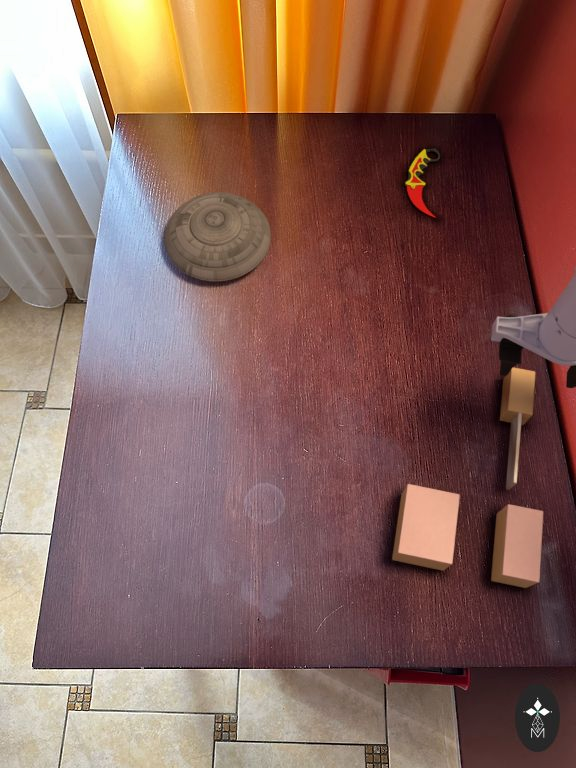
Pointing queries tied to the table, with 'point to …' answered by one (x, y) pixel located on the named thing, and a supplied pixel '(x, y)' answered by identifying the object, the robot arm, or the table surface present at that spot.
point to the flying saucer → (217, 236)
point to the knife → (415, 183)
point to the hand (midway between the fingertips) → (536, 374)
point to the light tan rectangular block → (517, 546)
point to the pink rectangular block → (426, 527)
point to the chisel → (516, 413)
